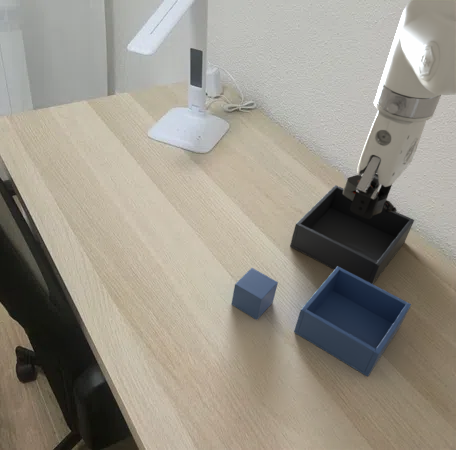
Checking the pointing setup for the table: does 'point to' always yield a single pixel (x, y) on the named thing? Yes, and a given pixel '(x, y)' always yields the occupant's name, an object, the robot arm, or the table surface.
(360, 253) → the charcoal bin
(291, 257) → the table surface
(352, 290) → the blue bin
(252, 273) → the blue block
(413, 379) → the table surface
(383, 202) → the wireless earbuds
